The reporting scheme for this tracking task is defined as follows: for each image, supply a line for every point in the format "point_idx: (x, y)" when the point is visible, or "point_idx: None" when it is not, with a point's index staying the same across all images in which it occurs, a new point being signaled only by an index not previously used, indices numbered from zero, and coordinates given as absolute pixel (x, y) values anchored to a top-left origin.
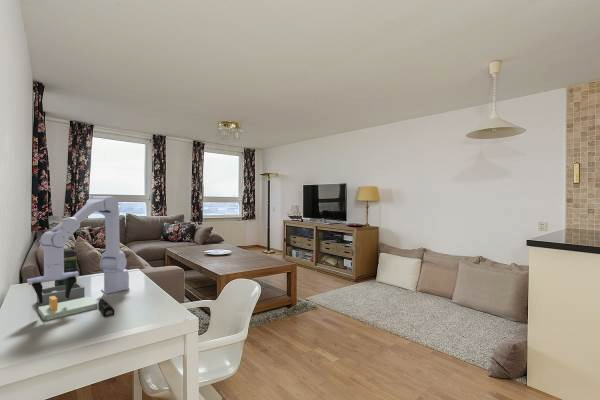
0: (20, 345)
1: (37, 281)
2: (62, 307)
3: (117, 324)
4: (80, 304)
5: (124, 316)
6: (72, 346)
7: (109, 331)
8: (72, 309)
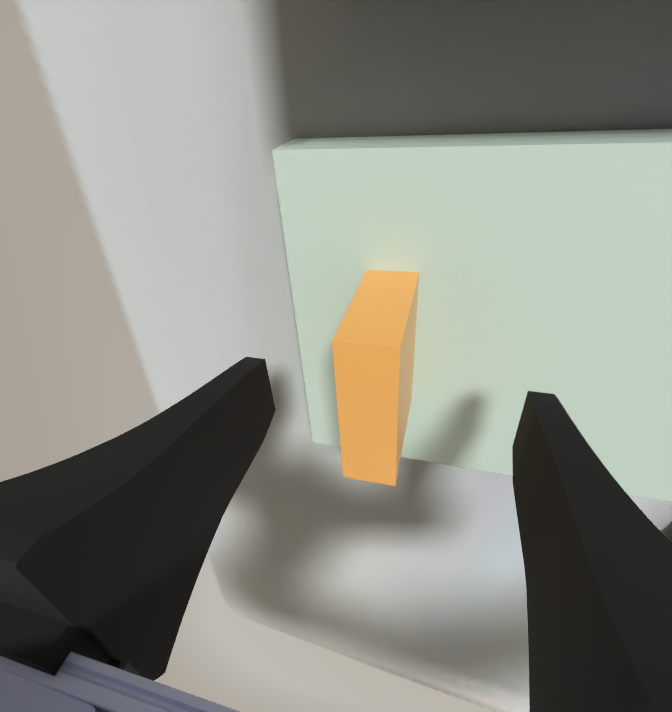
0: (243, 559)
1: (14, 697)
2: (463, 376)
3: None
4: (626, 424)
5: None
6: (371, 656)
7: (502, 680)
8: (503, 471)
